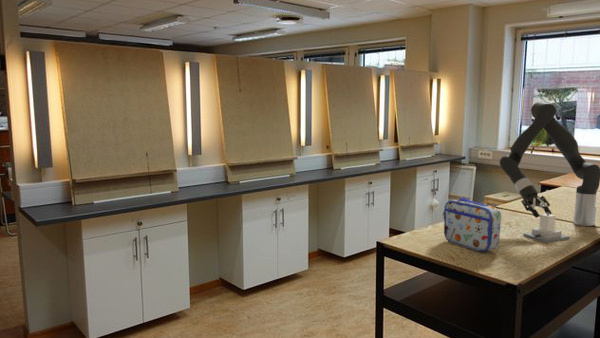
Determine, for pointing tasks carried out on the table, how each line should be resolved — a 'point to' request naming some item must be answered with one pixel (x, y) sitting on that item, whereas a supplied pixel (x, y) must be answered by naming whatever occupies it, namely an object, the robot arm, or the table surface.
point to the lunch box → (472, 224)
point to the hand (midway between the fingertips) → (544, 215)
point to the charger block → (547, 222)
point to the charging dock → (546, 235)
